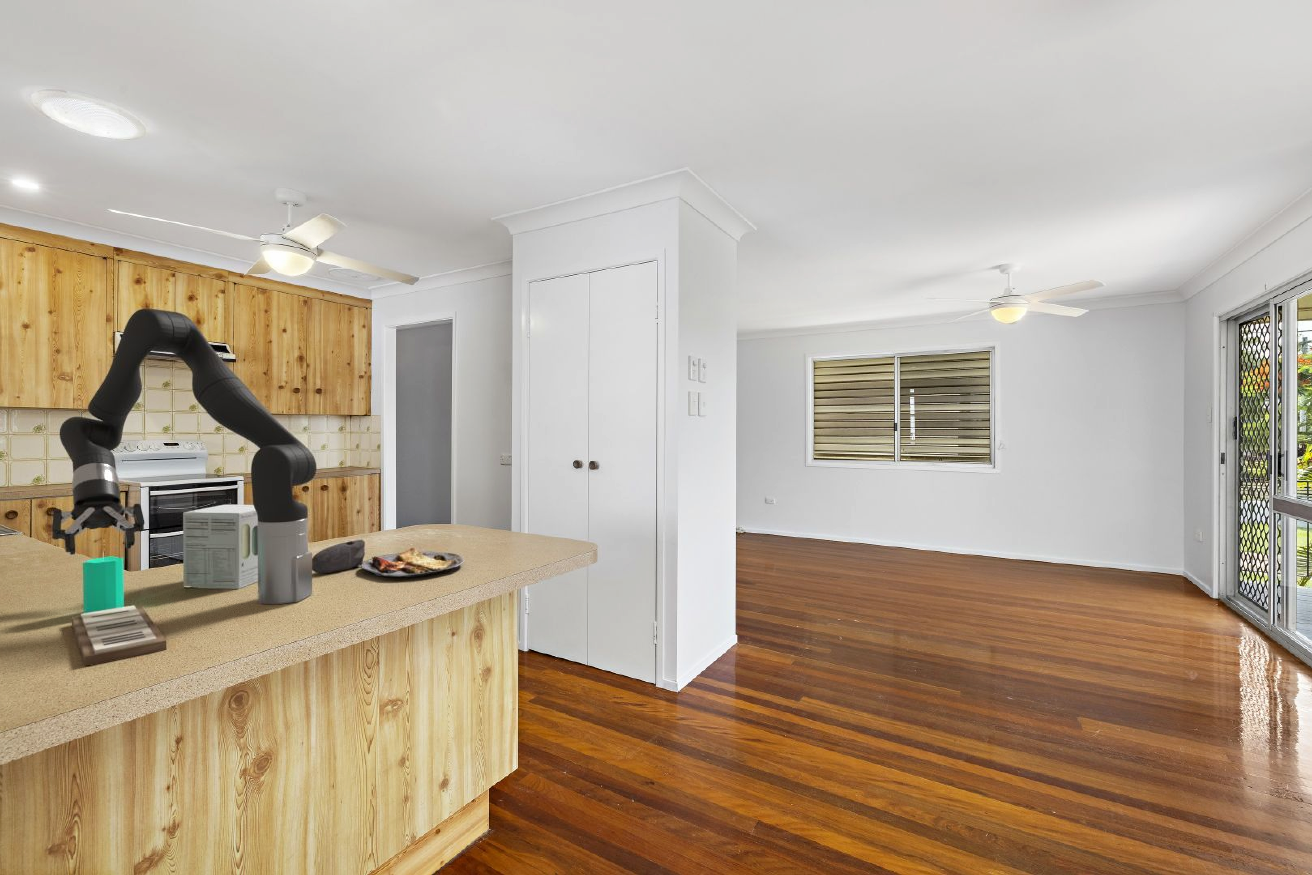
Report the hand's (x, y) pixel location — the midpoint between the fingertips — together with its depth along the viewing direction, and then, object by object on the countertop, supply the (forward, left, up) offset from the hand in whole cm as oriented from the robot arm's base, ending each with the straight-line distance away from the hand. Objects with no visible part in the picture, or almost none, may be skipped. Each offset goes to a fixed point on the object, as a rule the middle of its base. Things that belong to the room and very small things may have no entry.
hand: (101, 549), depth 125 cm
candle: (-4, +4, -12) cm, 13 cm away
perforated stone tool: (-34, -30, -12) cm, 47 cm away
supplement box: (-14, -19, -12) cm, 26 cm away
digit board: (-18, +18, -12) cm, 28 cm away
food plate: (-52, -32, -12) cm, 62 cm away
